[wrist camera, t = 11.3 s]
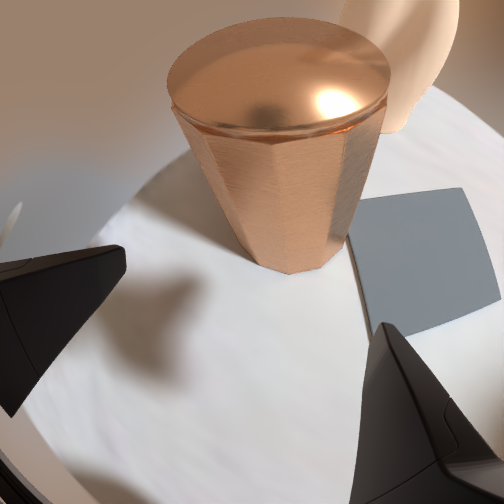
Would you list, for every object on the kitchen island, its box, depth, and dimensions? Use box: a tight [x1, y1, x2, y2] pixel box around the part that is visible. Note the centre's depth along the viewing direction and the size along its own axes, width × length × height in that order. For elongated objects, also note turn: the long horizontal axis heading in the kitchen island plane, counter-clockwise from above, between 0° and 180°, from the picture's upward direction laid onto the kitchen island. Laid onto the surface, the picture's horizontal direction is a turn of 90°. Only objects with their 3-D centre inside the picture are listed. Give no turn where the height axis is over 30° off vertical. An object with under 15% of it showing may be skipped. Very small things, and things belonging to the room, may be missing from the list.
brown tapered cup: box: [167, 17, 391, 275], centre depth 13 cm, size 8×8×13 cm
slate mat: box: [348, 188, 501, 337], centre depth 17 cm, size 12×10×1 cm
